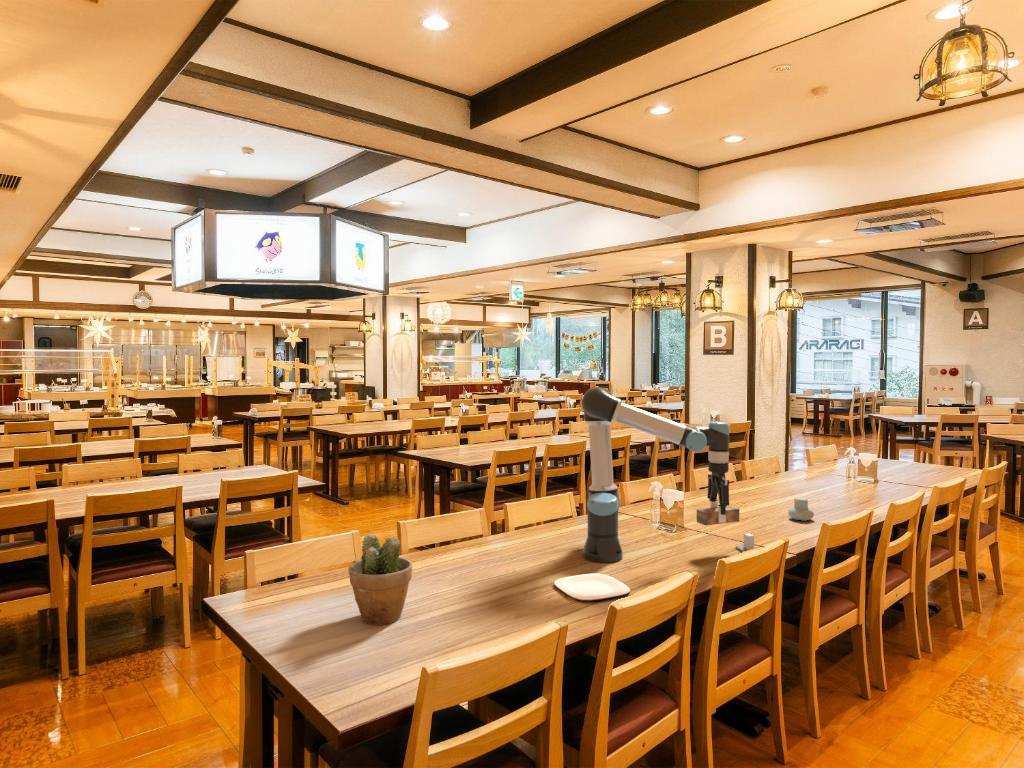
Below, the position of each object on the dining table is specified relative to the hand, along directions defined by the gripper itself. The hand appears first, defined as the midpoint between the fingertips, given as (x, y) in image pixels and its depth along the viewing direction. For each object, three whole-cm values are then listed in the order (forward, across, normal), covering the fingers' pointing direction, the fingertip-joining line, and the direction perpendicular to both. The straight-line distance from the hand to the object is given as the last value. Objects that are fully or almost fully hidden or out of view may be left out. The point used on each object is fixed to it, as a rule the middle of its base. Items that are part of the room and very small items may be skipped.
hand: (717, 520), depth 246 cm
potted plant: (+13, -46, +126) cm, 135 cm away
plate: (+14, -32, +59) cm, 68 cm away
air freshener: (+13, +43, -62) cm, 77 cm away
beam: (+1, 0, 0) cm, 1 cm away
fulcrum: (+13, 0, -13) cm, 18 cm away
